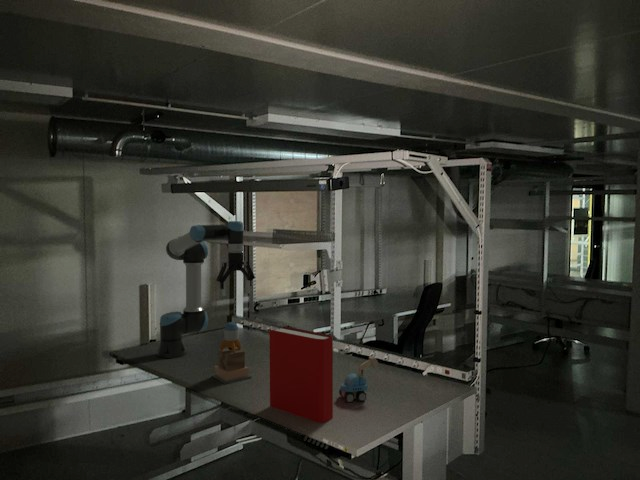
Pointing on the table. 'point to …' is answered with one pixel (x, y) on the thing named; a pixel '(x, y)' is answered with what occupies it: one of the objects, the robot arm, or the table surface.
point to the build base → (231, 375)
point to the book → (302, 373)
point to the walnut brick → (231, 359)
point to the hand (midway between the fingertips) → (236, 294)
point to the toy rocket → (231, 337)
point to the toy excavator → (357, 383)
